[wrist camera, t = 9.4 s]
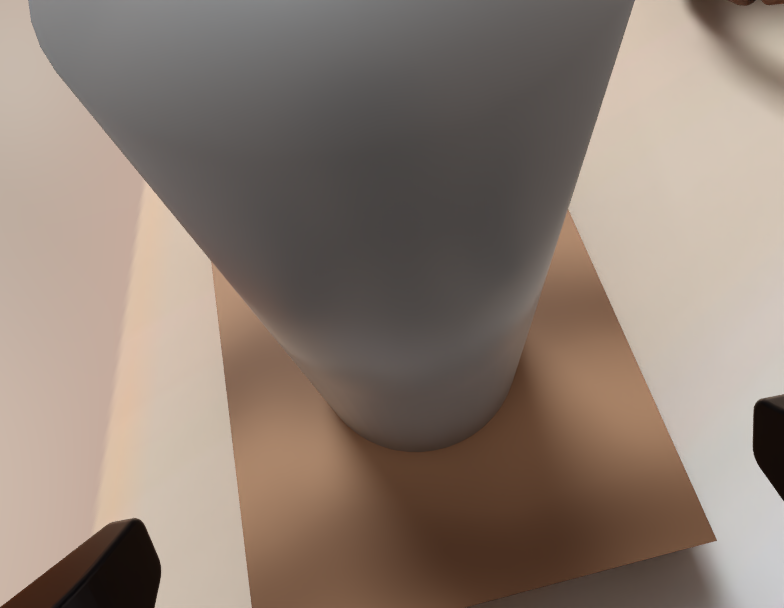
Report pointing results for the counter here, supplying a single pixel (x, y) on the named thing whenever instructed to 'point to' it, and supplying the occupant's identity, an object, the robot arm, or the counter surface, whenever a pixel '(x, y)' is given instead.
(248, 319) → the shelf board
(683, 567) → the counter surface
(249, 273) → the grey cylinder
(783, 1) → the pottery mug
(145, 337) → the counter surface
